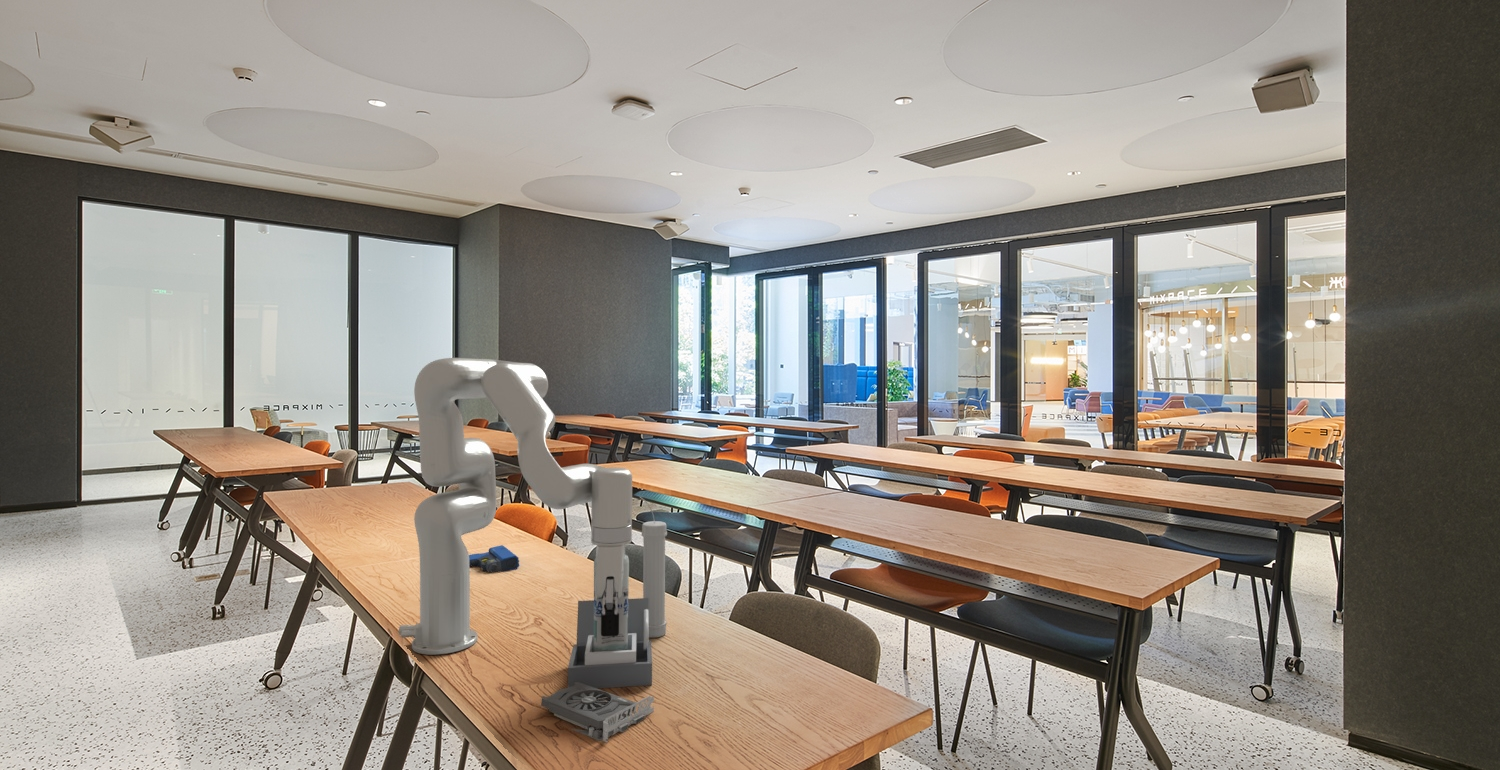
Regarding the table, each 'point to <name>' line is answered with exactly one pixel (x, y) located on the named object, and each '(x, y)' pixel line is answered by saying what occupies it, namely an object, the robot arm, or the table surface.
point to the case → (612, 665)
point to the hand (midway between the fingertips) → (610, 627)
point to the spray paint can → (622, 638)
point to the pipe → (654, 574)
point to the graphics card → (596, 710)
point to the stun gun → (495, 560)
